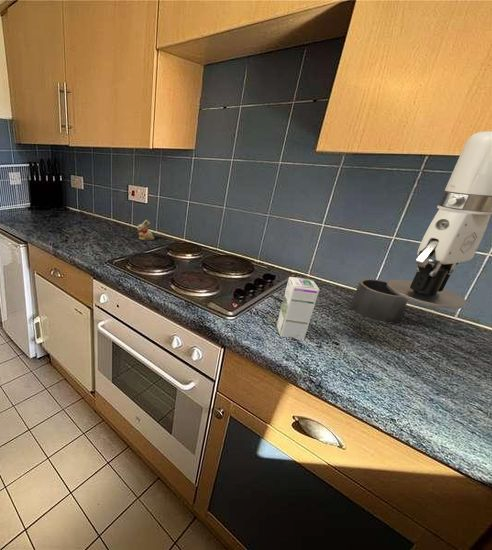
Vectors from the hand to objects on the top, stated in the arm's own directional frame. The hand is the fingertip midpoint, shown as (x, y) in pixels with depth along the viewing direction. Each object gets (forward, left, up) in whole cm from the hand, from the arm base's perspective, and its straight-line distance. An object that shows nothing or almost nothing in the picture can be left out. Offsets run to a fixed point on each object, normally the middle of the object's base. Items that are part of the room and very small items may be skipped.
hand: (425, 289), depth 64 cm
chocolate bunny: (+71, -74, -17) cm, 103 cm away
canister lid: (0, 0, -1) cm, 1 cm away
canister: (-5, -21, -17) cm, 27 cm away
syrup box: (+23, -3, -17) cm, 28 cm away
